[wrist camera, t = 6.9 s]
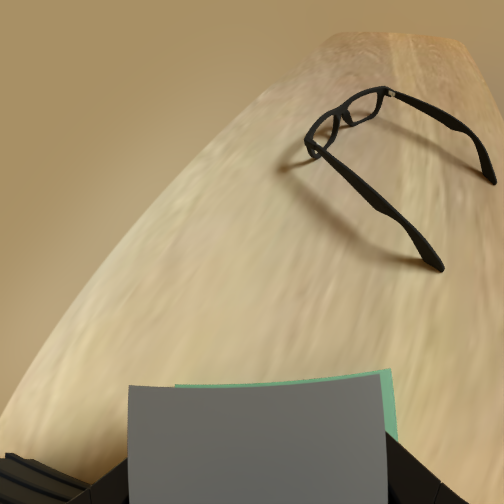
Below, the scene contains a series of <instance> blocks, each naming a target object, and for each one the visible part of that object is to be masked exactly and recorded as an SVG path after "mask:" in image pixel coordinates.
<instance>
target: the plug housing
mask: <svg viewBox="0 0 504 504" xmlns="http://www.w3.org/2000/svg"><path fill="white" fill-rule="evenodd" d="M128 483H129V501H130V504H388V481H387V453H386V436H385V422H384V410H383V399H382V389H381V380H380V374H374V375H368V376H361V377H354V378H347V379H339V380H331V381H322V382H313V383H302V384H290V385H277V386H260V387H235V388H174V387H150V386H133V385H129V393H128Z"/></svg>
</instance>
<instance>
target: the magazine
mask: <svg viewBox="0 0 504 504" xmlns="http://www.w3.org/2000/svg"><path fill="white" fill-rule="evenodd" d="M90 486H91V485H90V484H87V483H85V482H82V481H80V480H77V479H75V478H73V477H70V476H68V475H66V474H63V473H61V472H59V471H57V470H54V469H52V468H50V467H48V466H46V465H44V464H42V463H40V462H38V461H36V460H34V459H23V458H21V457H20V456H18V455H16V454H14V453H5V458H0V504H66V503H67V502H69V501H70V500H72V499H73V498H75V497H76V496H78V495H79V494H80V493H82V492H83V491H84V490H86V489H87V488H90Z"/></svg>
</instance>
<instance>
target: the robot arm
mask: <svg viewBox="0 0 504 504" xmlns="http://www.w3.org/2000/svg"><path fill="white" fill-rule="evenodd" d="M385 436H386V453H387V481H388V504H469V503H468V502H466V501H465V500H463V499H462V498H461V497H459V496H458V495H457V494H456V493H454V492H453V491H452V490H451V489H450V488H448V487H447V486H446V485H445V484H444V483H441V481H440V480H439V479H438V478H437V477H436V476H435V475H434V474H432V473H431V472H430V471H429V470H428V469H427V468H426V467H425V466H424V465H422V464H421V463H420V462H419V461H418V460H417V459H416V458H415V457H414V456H413V455H411V454H410V453H409V452H408V451H407V450H406V449H405V448H404V447H403V446H402V445H401V444H399V443H398V442H397V441H396V440H395V439H394V438H393V437H392V436H391V435H390V434H389V433H388V432H387V431H385ZM440 483H441V484H440ZM66 504H130V501H129V483H128V457H127V458H126V459H124V460H123V461H122V462H121V463H119V464H118V465H117V466H116V467H114V468H113V469H112V470H111V471H109V472H108V473H107V474H106V475H104V476H103V477H102V478H100V479H99V480H98V481H97V482H95V483H94V484H93V485H91V486H90V488H87V489H86V490H84V491H83V492H82V493H80V494H79V495H78V496H76V497H75V498H73V499H72V500H70V501H69V502H67V503H66Z"/></svg>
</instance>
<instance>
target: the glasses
mask: <svg viewBox="0 0 504 504" xmlns="http://www.w3.org/2000/svg"><path fill="white" fill-rule="evenodd" d="M374 92H377V104H376V108H375V110H374V112H373V113H372V114H370V115H369V116H368V117H366V118H364V119H362V120H360V121H357V122H353V121H352V118H351V116H350V112H349V111H348V110H347V109H348V107H349V105H350V104H351V103H352V102H353V101H354V100H356V99H358V98H360V97H361V96H364V95H366V94H370V93H374ZM385 95H386V96H389V97H392V96H393V97H395V98H397V99H399V100H401V101H403V102H405V103H407V104H409V105H411V106H413V107H415V108H416V109H418V110H420V111H422V112H424V113H426V114H427V115H429V116H431V117H433V118H434V119H436V120H438V121H439V122H441V123H443V124H444V125H445V126H447V127H448V128H450V129H451V130H455V131H459V132H463V133H465V134H467V135H468V136H470V138H471V139H472V140H473V142H474V144H475V146H476V149H477V152H478V155H479V159H480V164H481V168H482V173H483V175H484V176H485V177H486V178H487V179H488V180H489V181H490V182H491V183H493V184H494V185H496V184H497V179H496V176H495V173H494V170H493V167H492V164H491V161H490V159H489V156H488V153H487V151H486V149H485V147H484V146H483V144H482V143H481V141H480V140H479V138H478V137H477V136H476V135H475V134H474V133H473V132H472V131H471V130H470V129H469V128H468V127H467V126H466V125H465V124H463V123H462V122H461V121H459V120H458V119H456V118H455V117H453V116H451V115H450V114H448V113H446V112H444V111H443V110H441V109H439V108H437V107H435V106H432V105H430V104H428V103H426V102H423V101H421V100H419V99H416V98H414V97H411V96H408V95H406V94H403V93H400V92H397V91H393V90H392V89H391V88H389V87H386V86H379V87H374V88H370V89H367V90H364V91H361V92H359V93H357V94H355V95H353V96H352V97H350V98H349V99H348V100H347V101H345V102H344V103H343V104H342V105H340V106H339V107H337V108H335V109H332V110H330V111H328V112H326V113H325V114H323V115H322V116H321V117H320V118H319V119H318V120H317V121H316V122H315V123H314V124H313V125H312V127H311V128H310V130H309V131H308V133H307V134H306V136H305V138H304V143H305V146H306V147H307V150H308V153H309V155H310V156H311V157H312V158H320V157H321V156H322V157H323V158H324V159H325V160H326V161H327V162H328V163H329V164H330V165H331V166H332V167H333V168H334V169H335V170H336V171H337V172H338V173H339V174H340V175H342V176H343V177H344V178H345V179H346V180H347V181H348V182H349V183H350V184H351V185H352V187H353V188H354V189H355V190H356V191H357V192H358V193H359V194H360V195H361V196H362V197H363V198H364V199H365V200H366V201H367V202H368V203H369V204H370V205H371V206H372V207H373V208H374V209H376V210H377V211H379V212H381V213H383V214H385V215H387V216H390V217H391V218H393V219H394V220H396V221H397V222H398V223H400V224H401V225H402V226H403V228H404V229H405V230H406V231H407V233H408V235H409V236H410V238H411V239H412V241H413V243H414V245H415V246H416V248H417V250H418V252H419V254H420V255H421V257H422V259H423V260H424V262H426V263H428V264H429V265H431V266H433V267H434V268H436V269H437V270H439V271H440V272H443V271H444V269H445V267H444V265H443V263H442V261H441V259H440V258H439V256H438V255H437V254H436V252H435V251H434V250H433V248H432V247H431V246H430V244H429V243H428V242H427V240H426V239H425V238H424V237H423V236H422V235H421V233H420V232H419V231H418V230H417V229H416V228H415V227H414V226H413V225H412V224H411V223H409V222H408V221H407V220H406V219H405V218H404V217H403V216H402V215H401V214H400V213H399V212H398V211H397V210H396V209H395V208H394V207H393V206H391V205H390V204H389V203H388V202H387V201H386V200H385V199H384V198H383V197H382V196H381V195H380V194H379V193H377V192H376V191H375V190H374V189H373V188H372V187H371V186H369V185H368V184H367V183H366V182H365V181H364V180H363V179H361V178H360V177H359V176H358V175H357V174H355V173H354V172H353V171H352V170H351V169H349V168H348V167H347V166H345V165H344V164H343V163H342V162H340V161H339V160H338V159H336V158H335V157H334V156H332V155H331V154H330V153H329V152H327V151H326V150H327V148H328V147H329V146H330V145H331V144H332V143H333V142H334V140H335V138H336V136H337V133H338V129H339V126H340V119H341V116H342V118H343V120H344V121H345V122H346V123H347V124H349V125H351V126H356V125H358V124H360V123H362V122H365V121H367V120H370V119H372V118H374V117H375V116H376V115H377V114H378V112H379V110H380V108H381V105H382V101H383V98H384V96H385ZM331 115H334V119H333V129H332V134H331V137H330V139H329V141H328V142H327V144H326V145H325V146H324V147H323V148H322V147H321V146H320V145H319V143H316V142H315V141H314V140H313V135H314V133H315V131H316V129H317V128H318V127H319V126H320V124H321V123H322V122H323V121H324V120H326V119H327V118H328V117H329V116H331ZM314 150H316V151H317V152H318V153H317V154H315V151H314Z"/></svg>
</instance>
